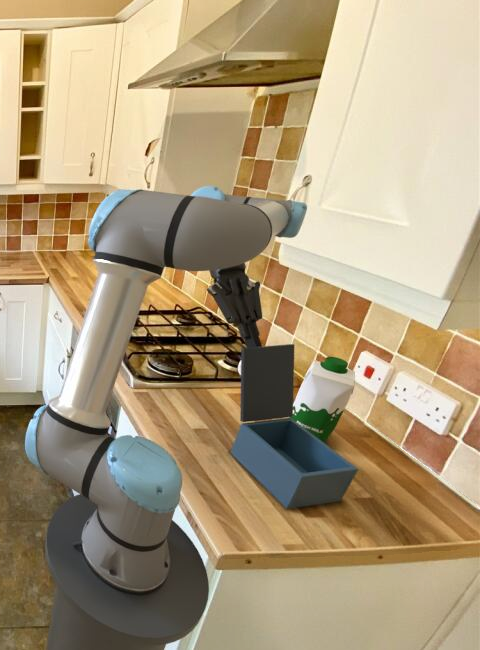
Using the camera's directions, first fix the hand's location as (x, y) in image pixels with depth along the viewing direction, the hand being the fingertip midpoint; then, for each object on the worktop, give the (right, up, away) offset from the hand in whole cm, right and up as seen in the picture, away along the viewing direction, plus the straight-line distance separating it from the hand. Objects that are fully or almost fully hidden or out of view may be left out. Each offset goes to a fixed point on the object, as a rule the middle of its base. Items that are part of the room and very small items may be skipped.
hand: (255, 350), depth 95 cm
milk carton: (+17, -21, +7) cm, 29 cm away
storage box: (+2, -27, -5) cm, 27 cm away
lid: (+1, -7, -3) cm, 8 cm away
